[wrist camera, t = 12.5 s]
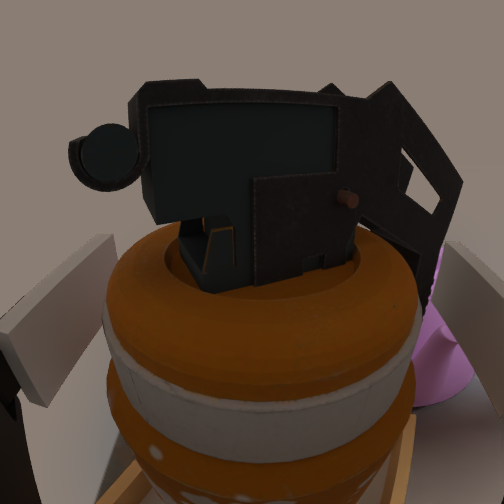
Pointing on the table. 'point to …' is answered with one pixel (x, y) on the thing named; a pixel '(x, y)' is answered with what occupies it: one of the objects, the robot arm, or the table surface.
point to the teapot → (438, 358)
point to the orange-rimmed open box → (373, 500)
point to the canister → (267, 286)
